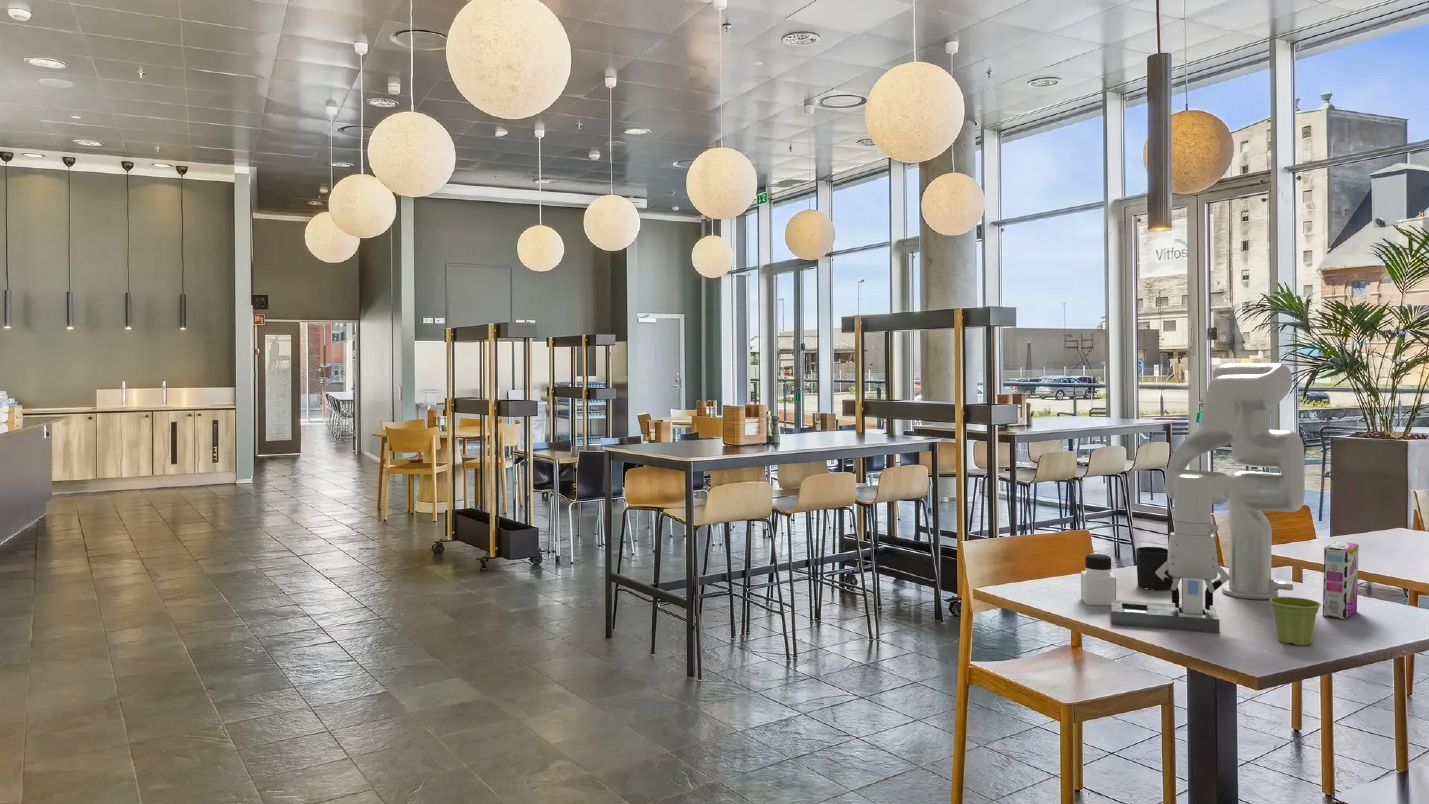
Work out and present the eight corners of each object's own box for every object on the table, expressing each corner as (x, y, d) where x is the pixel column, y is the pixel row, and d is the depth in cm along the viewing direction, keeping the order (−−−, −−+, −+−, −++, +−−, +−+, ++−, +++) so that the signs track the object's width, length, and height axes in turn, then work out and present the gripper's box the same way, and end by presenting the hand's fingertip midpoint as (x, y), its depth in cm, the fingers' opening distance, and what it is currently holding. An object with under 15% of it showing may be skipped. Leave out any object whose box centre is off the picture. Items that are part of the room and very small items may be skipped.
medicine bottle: (1116, 606, 236) (1116, 557, 236) (1085, 605, 237) (1085, 557, 237) (1110, 599, 243) (1110, 552, 242) (1080, 598, 244) (1080, 551, 244)
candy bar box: (1347, 620, 220) (1347, 549, 219) (1322, 617, 223) (1322, 547, 223) (1358, 611, 228) (1359, 543, 227) (1334, 608, 231) (1335, 540, 231)
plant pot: (1259, 636, 208) (1259, 597, 208) (1300, 635, 209) (1300, 595, 209) (1288, 649, 199) (1288, 607, 199) (1331, 647, 200) (1331, 606, 200)
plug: (1200, 622, 220) (1201, 575, 219) (1202, 628, 216) (1203, 579, 215) (1181, 621, 221) (1181, 574, 221) (1183, 626, 217) (1183, 578, 217)
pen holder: (1179, 586, 256) (1179, 549, 255) (1168, 593, 249) (1168, 554, 248) (1142, 581, 262) (1142, 545, 261) (1131, 588, 255) (1131, 550, 254)
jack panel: (1213, 619, 222) (1213, 606, 222) (1219, 633, 211) (1219, 618, 211) (1111, 611, 231) (1111, 598, 231) (1111, 624, 220) (1111, 610, 219)
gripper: (1233, 528, 218) (1232, 606, 219) (1150, 524, 225) (1150, 600, 225) (1237, 533, 211) (1236, 614, 212) (1151, 529, 218) (1151, 608, 218)
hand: (1192, 606), depth 219 cm, fingers open, 5 cm apart
